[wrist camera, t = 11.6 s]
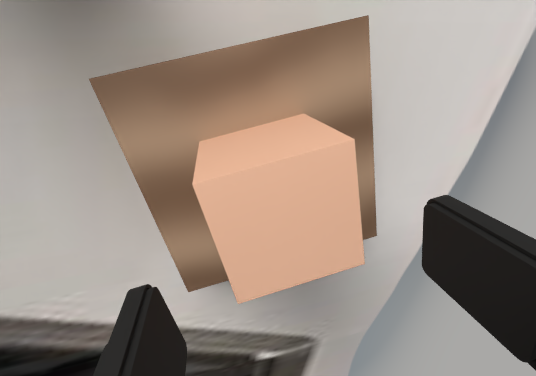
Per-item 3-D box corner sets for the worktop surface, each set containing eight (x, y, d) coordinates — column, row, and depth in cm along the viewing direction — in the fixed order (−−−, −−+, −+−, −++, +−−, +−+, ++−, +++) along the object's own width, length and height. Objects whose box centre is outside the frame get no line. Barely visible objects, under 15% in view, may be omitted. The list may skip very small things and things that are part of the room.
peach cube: (318, 204, 18) (364, 263, 12) (229, 230, 17) (238, 303, 12) (304, 113, 15) (354, 139, 10) (199, 141, 15) (192, 184, 9)
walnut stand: (346, 204, 24) (376, 235, 20) (192, 248, 23) (188, 292, 19) (330, 27, 18) (368, 15, 14) (121, 75, 17) (88, 78, 13)
